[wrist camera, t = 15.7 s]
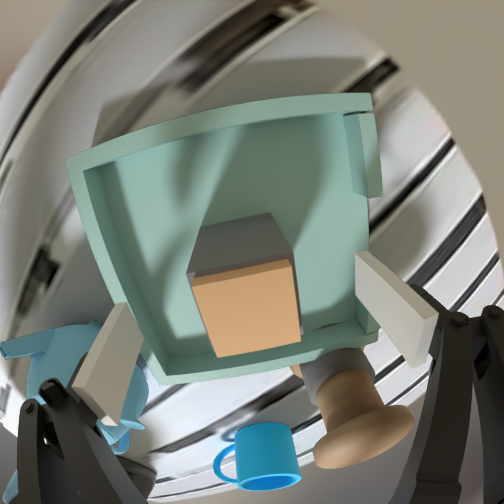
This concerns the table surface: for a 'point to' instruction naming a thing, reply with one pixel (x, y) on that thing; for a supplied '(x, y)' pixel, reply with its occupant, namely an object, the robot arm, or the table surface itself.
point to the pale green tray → (230, 208)
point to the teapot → (63, 365)
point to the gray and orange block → (245, 285)
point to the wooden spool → (350, 408)
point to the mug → (262, 458)
